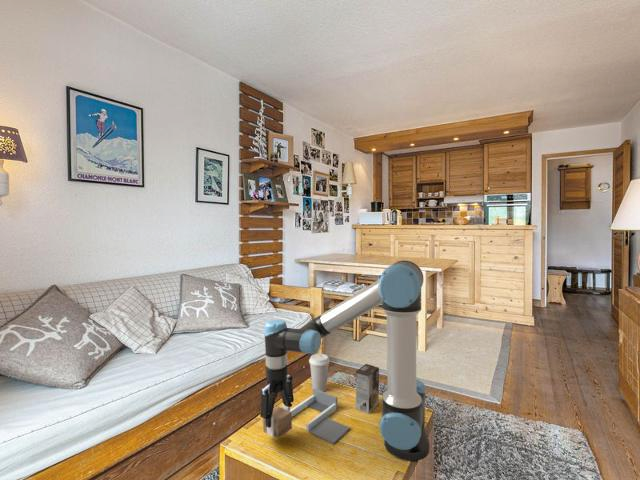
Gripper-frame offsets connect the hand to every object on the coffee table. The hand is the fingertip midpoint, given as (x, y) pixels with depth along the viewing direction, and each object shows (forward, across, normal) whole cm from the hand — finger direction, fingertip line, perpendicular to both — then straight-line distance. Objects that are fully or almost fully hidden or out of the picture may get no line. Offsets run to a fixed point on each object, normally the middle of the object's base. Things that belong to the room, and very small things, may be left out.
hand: (278, 429), depth 121 cm
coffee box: (+5, -38, +14) cm, 41 cm away
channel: (+4, -19, -1) cm, 20 cm away
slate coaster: (+4, -15, +11) cm, 19 cm away
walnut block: (0, 0, 0) cm, 0 cm away
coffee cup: (+4, -38, -11) cm, 40 cm away
